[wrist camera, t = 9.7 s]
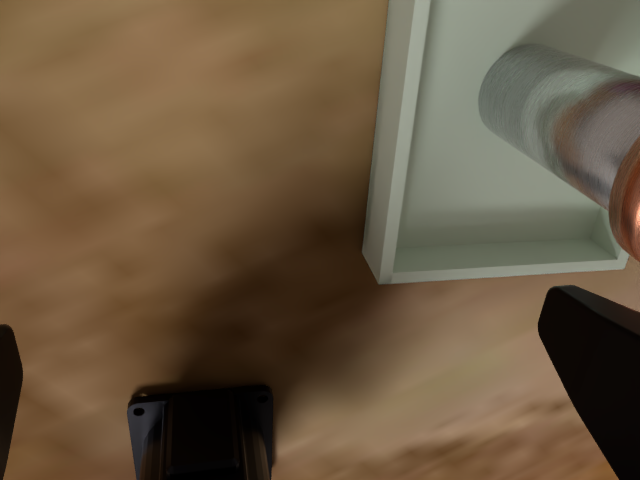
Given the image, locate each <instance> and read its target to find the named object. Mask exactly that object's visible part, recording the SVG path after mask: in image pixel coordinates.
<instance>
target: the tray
mask: <svg viewBox="0 0 640 480" xmlns="http://www.w3.org/2000/svg"><path fill="white" fill-rule="evenodd" d="M525 44H541V45H545V46H548V47H551V48H554V49H557V50H560V51H563V52H566V53H569V54H572V55H575V56H578V57H581V58H584V59H587V60H590V61H593V62H597V63H600V64H603V65H606V66H609V67H612V68H615V69H618V70H621V71H624V72H627V73H630V74H633V75H636V76H639V77H640V0H389V5H388V14H387V23H386V33H385V42H384V51H383V61H382V70H381V79H380V88H379V98H378V107H377V116H376V126H375V135H374V144H373V154H372V163H371V172H370V182H369V191H368V200H367V209H366V219H365V228H364V237H363V247H362V254H363V256H364V258H365V260H366V262H367V263H368V265H369V267H370V269H371V271H372V273H373V275H374V277H375V279H376V280H377V282H378V284H379V285H380V284H396V283H411V282H427V281H443V280H459V279H474V278H490V277H506V276H522V275H537V274H553V273H569V272H585V271H600V270H616V269H624V268H625V265H626V263H627V260H628V257H629V254H628V253H627V252H626V251H624V250H623V249H622V248H621V247H620V245H619V244H618V243H617V241H616V240H615V238H614V236H613V234H612V231H611V227H610V223H609V211H607V210H606V209H604V208H603V207H601V206H600V205H598V204H597V203H595V202H594V201H592V200H591V199H590V198H588V197H587V196H585V195H584V194H582V193H581V192H579V191H578V190H576V189H575V188H573V187H572V186H570V185H569V184H567V183H566V182H564V181H563V180H561V179H560V178H558V177H557V176H555V175H554V174H552V173H551V172H550V171H548V170H547V169H545V168H544V167H542V166H541V165H539V164H538V163H536V162H535V161H533V160H532V159H530V158H529V157H527V156H526V155H524V154H523V153H521V152H520V151H518V150H517V149H515V148H514V147H512V146H511V145H510V144H508V143H507V142H505V141H504V140H502V139H501V138H499V137H498V136H496V135H495V134H493V133H492V132H491V131H489V130H488V128H487V127H486V126H485V125H484V123H483V121H482V119H481V117H480V113H479V107H478V98H479V91H480V87H481V84H482V82H483V79H484V77H485V75H486V74H487V72H488V70H489V69H490V67H491V66H492V65H493V64H494V63H495V62H496V61H497V60H498V59H499V58H500V57H501V56H502V55H503V54H505V53H506V52H508V51H509V50H511V49H513V48H515V47H518V46H521V45H525Z"/></svg>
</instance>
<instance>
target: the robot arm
mask: <svg viewBox="0 0 640 480" xmlns="http://www.w3.org/2000/svg"><path fill="white" fill-rule="evenodd" d="M538 333H539V336H540V338H541V340H542V343H543V345H544V347H545V349H546V351H547V353H548V355H549V357H550V359H551V361H552V363H553V365H554V367H555V369H556V371H557V373H558V375H559V377H560V379H561V381H562V383H563V386H564V388H565V390H566V392H567V394H568V396H569V398H570V400H571V401H572V403H573V405H574V407H575V409H576V411H577V412H578V414H579V416H580V417H581V419H582V421H583V422H584V424H585V426H586V427H587V429H588V430H589V432H590V434H591V435H592V437H593V438H594V440H595V442H596V443H597V445H598V447H599V448H600V450H601V451H602V453H603V455H604V456H605V458H606V459H607V461H608V463H609V464H610V466H611V468H612V469H613V471H614V472H615V474H616V476H617V477H618V479H619V480H640V312H638V311H635V310H633V309H630V308H628V307H626V306H623V305H621V304H618V303H616V302H613V301H611V300H609V299H606V298H604V297H601V296H599V295H596V294H594V293H592V292H589V291H587V290H584V289H582V288H579V287H577V286H574V285H564V286H553V287H552V288H550V289H549V290H548V292H547V294H546V298H545V301H544V304H543V308H542V311H541V314H540V318H539V321H538ZM22 381H23V368H22V363H21V359H20V355H19V351H18V347H17V343H16V340H15V336H14V332H13V330H12V328H11V327H10V326H9V325H7V324H1V325H0V480H3V477H4V473H5V468H6V464H7V459H8V454H9V449H10V444H11V439H12V434H13V428H14V423H15V418H16V413H17V408H18V402H19V397H20V392H21V387H22ZM261 395H265V396H264V397H259V396H261ZM138 407H139V408H143V409H136V408H138ZM127 416H128V423H129V430H130V437H131V444H132V451H133V457H134V464H135V471H136V478H137V480H271V468H272V428H273V394H272V389H271V388H270V387H269V386H266V385H257V386H246V387H236V388H226V389H215V390H205V391H195V392H184V393H174V394H164V395H154V396H143V397H136V398H133V399H132V400H130V402H129V403H128V410H127Z"/></svg>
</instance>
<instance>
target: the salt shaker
mask: <svg viewBox="0 0 640 480" xmlns="http://www.w3.org/2000/svg"><path fill="white" fill-rule="evenodd" d="M478 107H479V113H480V117H481V119H482V121H483V123H484V125H485V126H486V127H487V128H488V130H489V131H491V132H492V133H493V134H495V135H496V136H498V137H499V138H501V139H502V140H504V141H505V142H507V143H508V144H510V145H511V146H512V147H514V148H515V149H517V150H518V151H520V152H521V153H523V154H524V155H526V156H527V157H529V158H530V159H532V160H533V161H535V162H536V163H538V164H539V165H541V166H542V167H544V168H545V169H547V170H548V171H550V172H551V173H552V174H554V175H555V176H557V177H558V178H560V179H561V180H563V181H564V182H566V183H567V184H569V185H570V186H572V187H573V188H575V189H576V190H578V191H579V192H581V193H582V194H584V195H585V196H587V197H588V198H590V199H591V200H592V201H594V202H595V203H597V204H598V205H600V206H601V207H603V208H604V209H606V210H607V211H609V223H610V227H611V231H612V234H613V236H614V238H615V240H616V241H617V243H618V244H619V245H620V247H621V248H622V249H623V250H624V251H626V252H627V253H628V254H629V255H631V256H632V257H633V258H635V259H636V260H638V261H639V262H640V77H639V76H636V75H633V74H630V73H627V72H624V71H621V70H618V69H615V68H612V67H609V66H606V65H603V64H600V63H597V62H593V61H590V60H587V59H584V58H581V57H578V56H575V55H572V54H569V53H566V52H563V51H560V50H557V49H554V48H551V47H548V46H545V45H541V44H525V45H521V46H518V47H515V48H513V49H511V50H509V51H508V52H506V53H505V54H503V55H502V56H501V57H500V58H499V59H498V60H497V61H496V62H495V63H494V64H493V65H492V66H491V67H490V69H489V70H488V72H487V74H486V75H485V77H484V79H483V82H482V84H481V87H480V91H479V98H478Z"/></svg>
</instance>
